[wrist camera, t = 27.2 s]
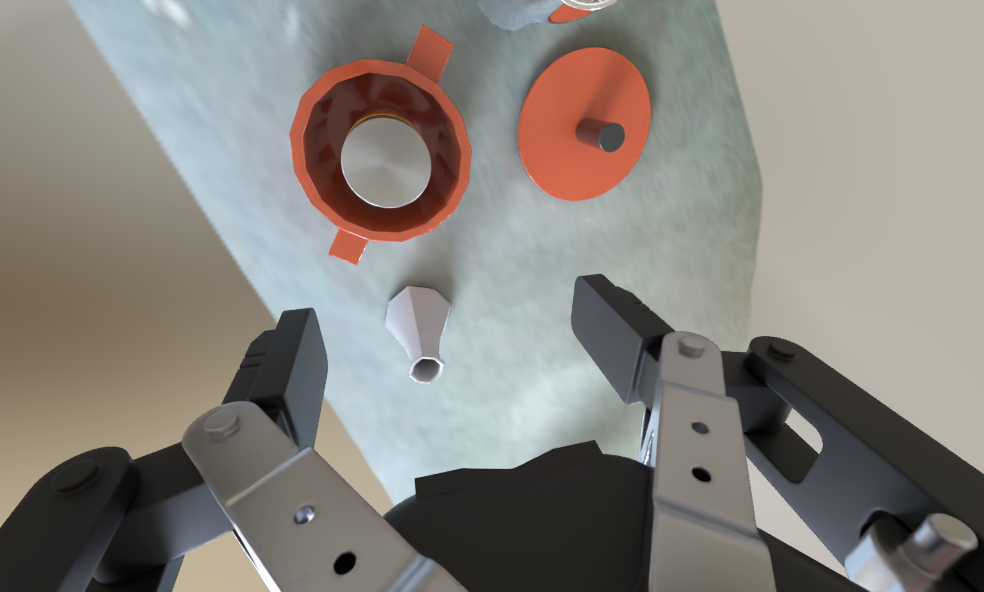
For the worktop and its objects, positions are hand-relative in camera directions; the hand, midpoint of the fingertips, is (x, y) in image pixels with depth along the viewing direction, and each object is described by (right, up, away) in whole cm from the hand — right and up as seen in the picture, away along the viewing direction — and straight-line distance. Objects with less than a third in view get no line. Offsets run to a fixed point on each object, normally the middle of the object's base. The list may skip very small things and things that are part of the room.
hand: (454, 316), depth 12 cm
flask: (-7, -1, +32) cm, 33 cm away
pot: (-8, +14, +23) cm, 28 cm away
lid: (+10, +17, +26) cm, 32 cm away
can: (-8, +14, +22) cm, 28 cm away
